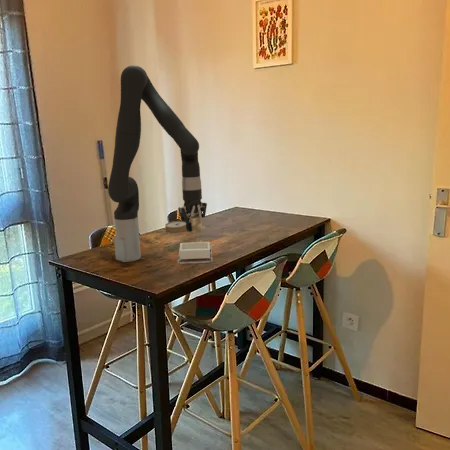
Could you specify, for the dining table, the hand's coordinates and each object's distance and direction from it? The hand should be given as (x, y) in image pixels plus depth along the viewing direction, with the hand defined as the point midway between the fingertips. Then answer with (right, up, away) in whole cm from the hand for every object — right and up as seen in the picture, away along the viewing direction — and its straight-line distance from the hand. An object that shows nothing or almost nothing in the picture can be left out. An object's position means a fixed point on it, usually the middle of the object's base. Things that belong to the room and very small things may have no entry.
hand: (194, 229), depth 188 cm
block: (0, -1, 0) cm, 1 cm away
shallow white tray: (0, -11, +3) cm, 11 cm away
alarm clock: (-11, -1, +49) cm, 50 cm away
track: (0, -10, +7) cm, 12 cm away
